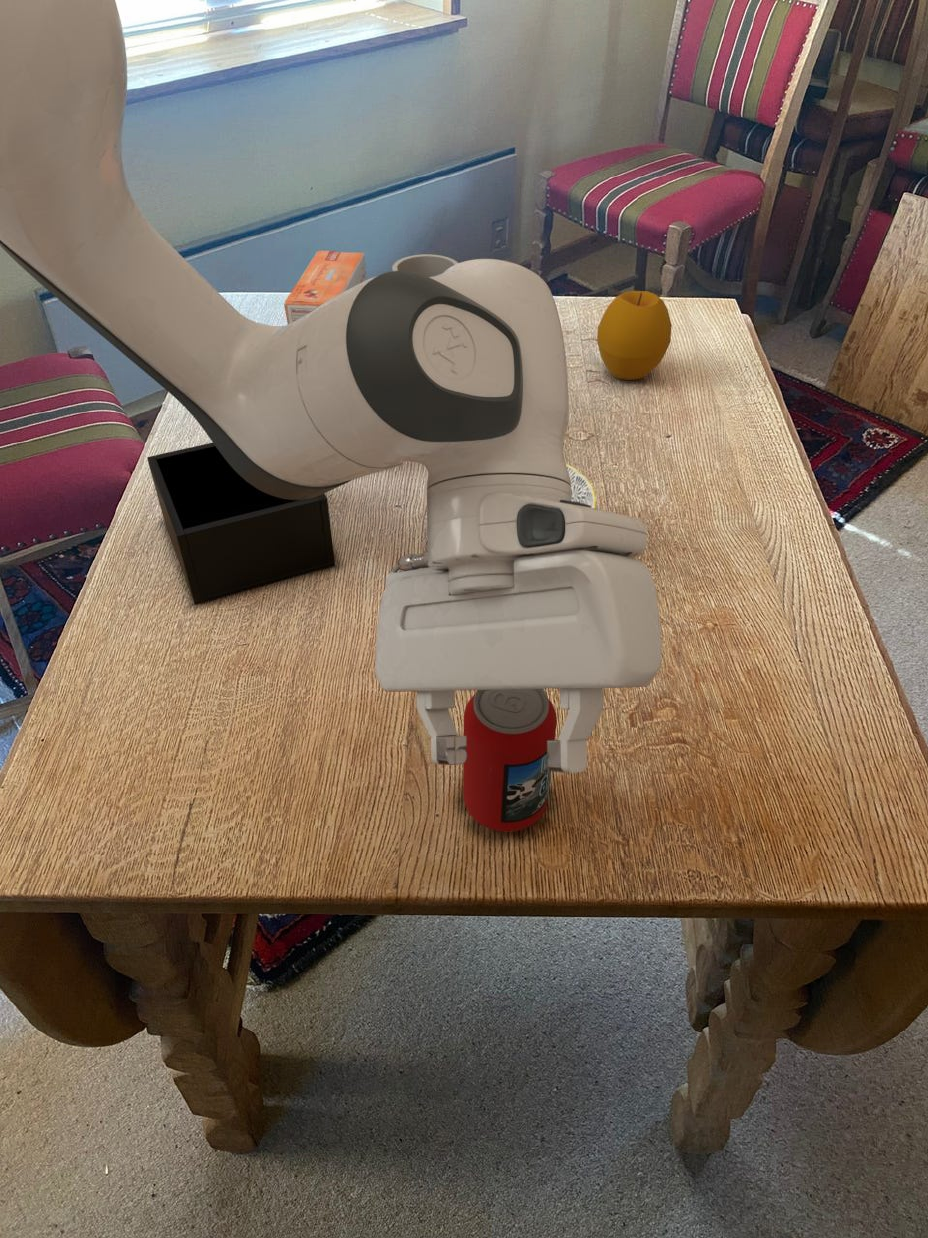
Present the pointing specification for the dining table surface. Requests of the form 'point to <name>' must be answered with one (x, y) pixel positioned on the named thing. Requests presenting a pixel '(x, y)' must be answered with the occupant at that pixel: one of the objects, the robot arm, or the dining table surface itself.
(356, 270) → the cracker box
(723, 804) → the dining table surface
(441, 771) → the dining table surface
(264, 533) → the black open box
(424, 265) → the cup
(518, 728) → the beverage can
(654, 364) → the apple
